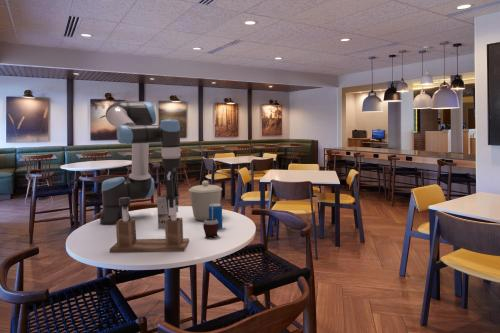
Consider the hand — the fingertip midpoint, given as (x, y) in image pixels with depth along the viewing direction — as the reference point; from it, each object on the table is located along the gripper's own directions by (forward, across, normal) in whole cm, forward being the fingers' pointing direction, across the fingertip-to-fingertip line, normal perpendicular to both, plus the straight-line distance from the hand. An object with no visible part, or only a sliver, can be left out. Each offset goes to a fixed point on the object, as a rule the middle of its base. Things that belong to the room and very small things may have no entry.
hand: (173, 213), depth 145 cm
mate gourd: (+14, +13, -14) cm, 24 cm away
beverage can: (+14, +25, -15) cm, 33 cm away
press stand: (+14, 0, +10) cm, 17 cm away
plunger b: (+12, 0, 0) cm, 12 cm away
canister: (+14, +45, -8) cm, 48 cm away
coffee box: (+14, +31, +10) cm, 36 cm away
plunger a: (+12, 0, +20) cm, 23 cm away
